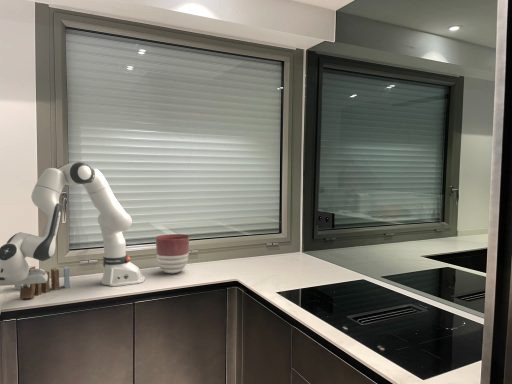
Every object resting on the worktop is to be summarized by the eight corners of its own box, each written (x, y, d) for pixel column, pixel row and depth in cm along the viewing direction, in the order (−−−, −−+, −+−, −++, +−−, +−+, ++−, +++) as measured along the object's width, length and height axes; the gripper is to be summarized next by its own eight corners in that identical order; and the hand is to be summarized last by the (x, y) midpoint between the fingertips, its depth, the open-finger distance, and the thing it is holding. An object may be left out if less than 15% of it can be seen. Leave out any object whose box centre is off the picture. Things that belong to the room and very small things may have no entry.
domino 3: (45, 292, 183) (45, 272, 183) (39, 291, 186) (38, 271, 185) (49, 291, 185) (49, 271, 185) (43, 290, 187) (42, 270, 187)
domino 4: (55, 290, 187) (54, 270, 187) (51, 288, 191) (50, 268, 190) (59, 289, 189) (58, 269, 189) (55, 287, 192) (55, 268, 192)
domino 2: (38, 295, 179) (37, 275, 178) (29, 295, 180) (28, 274, 179) (41, 294, 181) (40, 274, 180) (32, 293, 182) (31, 273, 181)
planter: (186, 267, 234) (186, 233, 233) (192, 275, 216) (192, 238, 215) (154, 269, 227) (154, 235, 226) (157, 278, 209) (157, 240, 208)
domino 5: (65, 288, 191) (64, 268, 190) (64, 285, 195) (63, 266, 195) (69, 287, 192) (69, 268, 191) (68, 285, 196) (68, 266, 196)
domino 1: (30, 298, 173) (33, 276, 175) (19, 298, 172) (22, 276, 175) (33, 297, 176) (36, 276, 178) (22, 298, 175) (25, 276, 178)
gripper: (45, 263, 168) (52, 278, 178) (-7, 266, 163) (3, 281, 173) (42, 275, 164) (49, 290, 174) (-11, 278, 159) (0, 294, 169)
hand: (26, 286), depth 173 cm, fingers closed
